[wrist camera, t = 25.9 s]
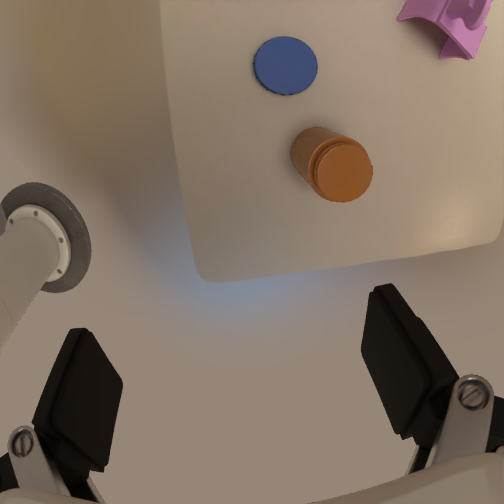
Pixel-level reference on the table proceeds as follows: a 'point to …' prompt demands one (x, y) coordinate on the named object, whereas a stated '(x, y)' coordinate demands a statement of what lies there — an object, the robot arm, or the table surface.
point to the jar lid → (285, 65)
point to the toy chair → (453, 23)
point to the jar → (332, 164)
